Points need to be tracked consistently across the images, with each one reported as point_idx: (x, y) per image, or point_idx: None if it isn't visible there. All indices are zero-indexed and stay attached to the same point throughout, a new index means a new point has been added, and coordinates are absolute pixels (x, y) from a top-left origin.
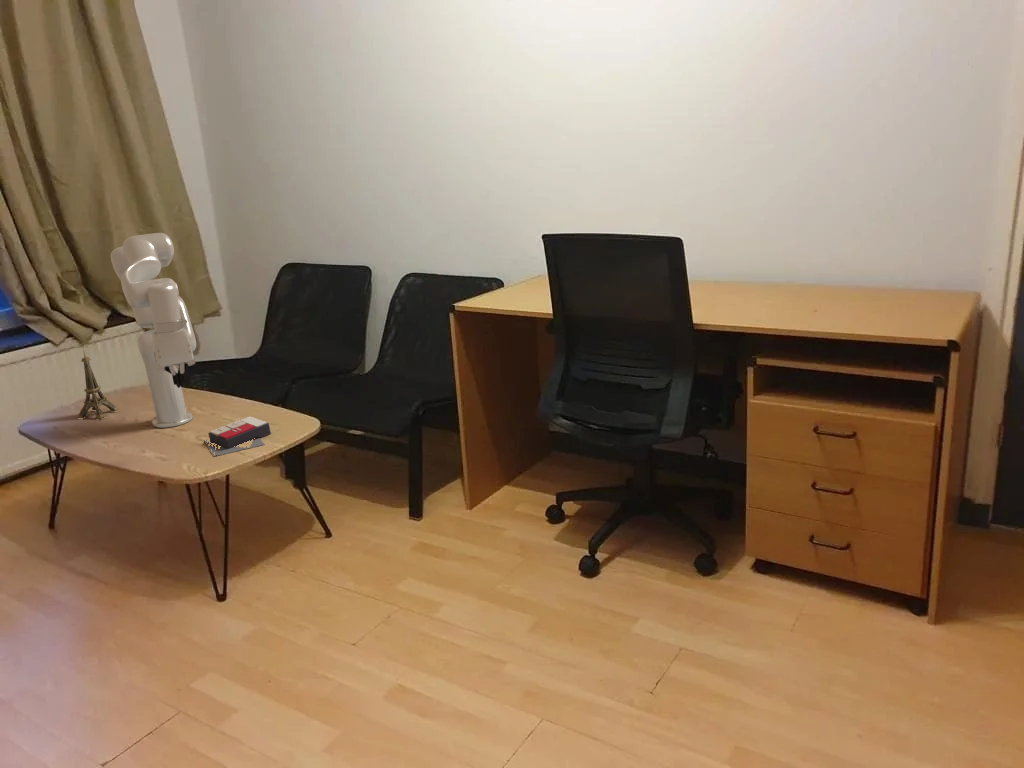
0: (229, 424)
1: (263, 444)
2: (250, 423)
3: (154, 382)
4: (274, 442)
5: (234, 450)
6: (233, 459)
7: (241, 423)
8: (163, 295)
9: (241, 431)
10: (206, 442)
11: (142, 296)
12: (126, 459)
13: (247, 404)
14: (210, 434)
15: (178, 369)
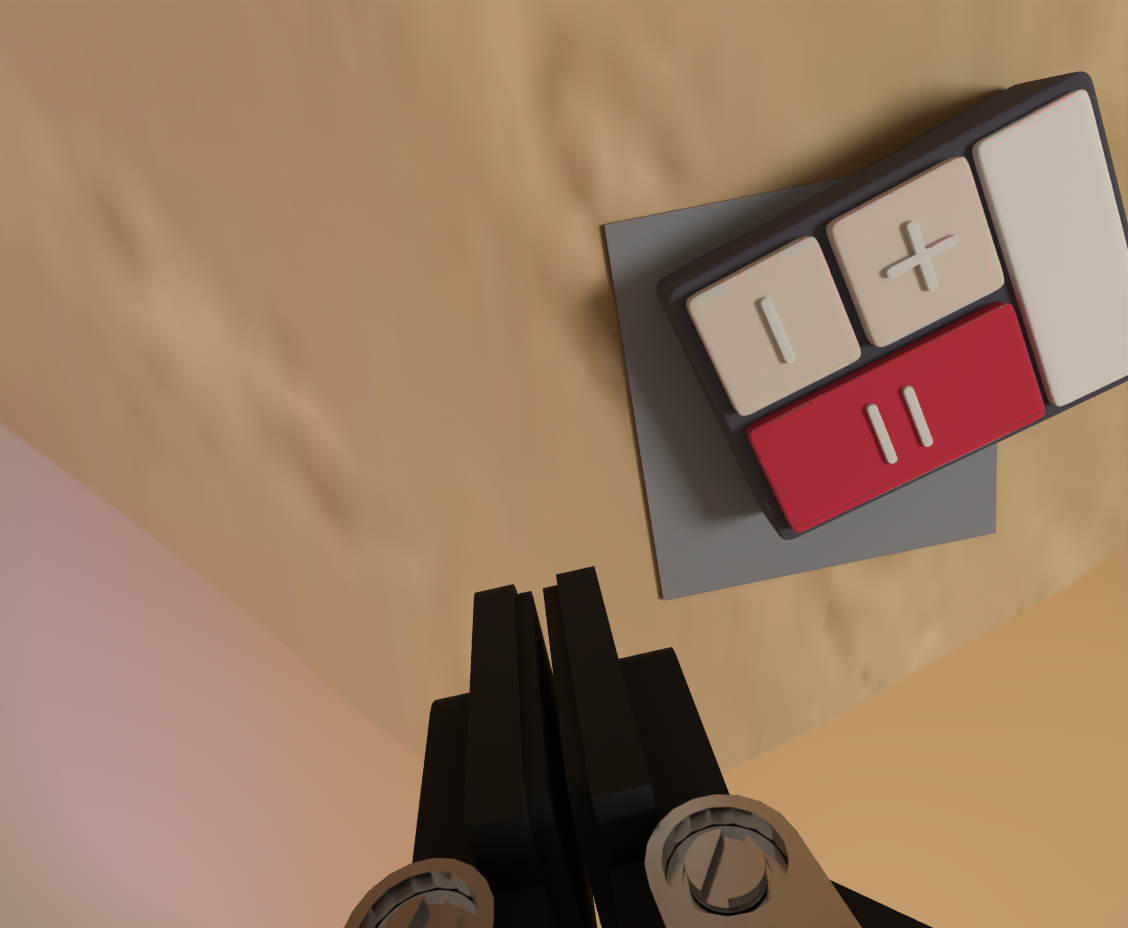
0: (870, 231)
1: (989, 531)
2: (1035, 306)
3: None
4: (1058, 515)
5: (801, 555)
6: (775, 686)
7: (969, 273)
8: None
9: (927, 469)
10: (625, 290)
11: None
12: (16, 361)
13: None
14: (683, 335)
15: (656, 910)
